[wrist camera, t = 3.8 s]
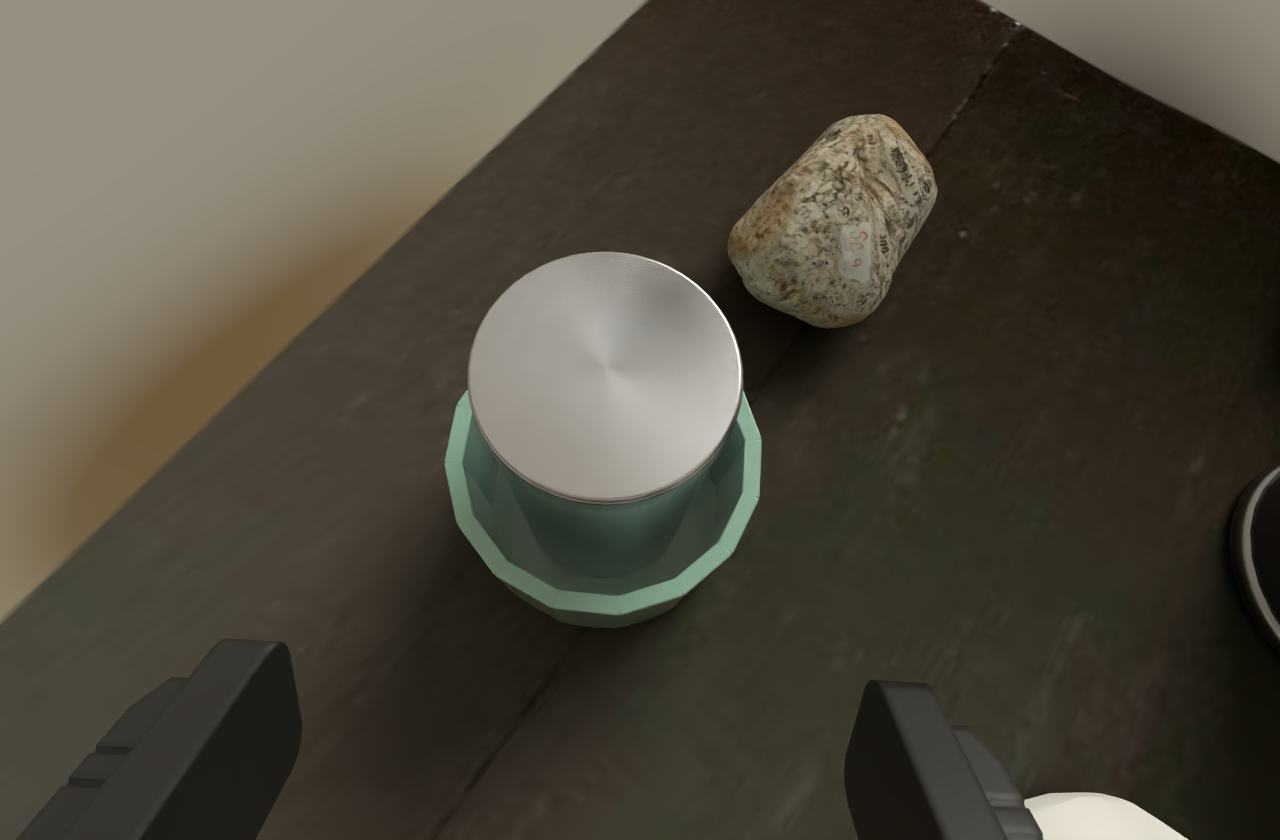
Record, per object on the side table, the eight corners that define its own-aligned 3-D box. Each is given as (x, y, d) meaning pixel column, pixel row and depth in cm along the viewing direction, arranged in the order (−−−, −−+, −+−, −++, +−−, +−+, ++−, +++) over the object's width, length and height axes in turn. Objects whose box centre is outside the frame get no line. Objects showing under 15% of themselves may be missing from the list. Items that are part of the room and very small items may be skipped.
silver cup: (617, 393, 26) (627, 204, 15) (717, 509, 24) (802, 388, 14) (491, 484, 24) (410, 344, 14) (590, 614, 23) (581, 565, 13)
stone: (694, 283, 28) (707, 212, 24) (835, 151, 30) (874, 61, 26) (810, 382, 27) (849, 328, 22) (949, 237, 29) (1012, 159, 24)
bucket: (623, 348, 27) (629, 262, 21) (775, 520, 25) (825, 475, 19) (434, 482, 25) (384, 426, 19) (583, 684, 23) (576, 687, 17)
